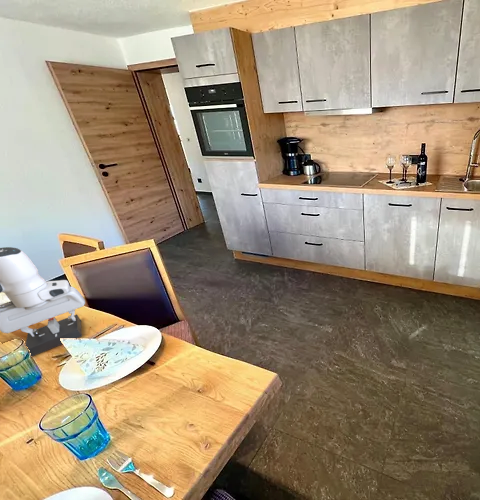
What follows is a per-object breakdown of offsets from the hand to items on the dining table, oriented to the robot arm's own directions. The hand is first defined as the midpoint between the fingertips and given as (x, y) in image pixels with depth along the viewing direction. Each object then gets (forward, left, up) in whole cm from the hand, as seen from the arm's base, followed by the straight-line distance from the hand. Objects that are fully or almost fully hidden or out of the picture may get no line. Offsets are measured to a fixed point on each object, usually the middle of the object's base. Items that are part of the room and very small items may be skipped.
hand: (55, 327), depth 98 cm
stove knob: (0, 0, -1) cm, 1 cm away
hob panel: (-1, 0, -4) cm, 4 cm away
